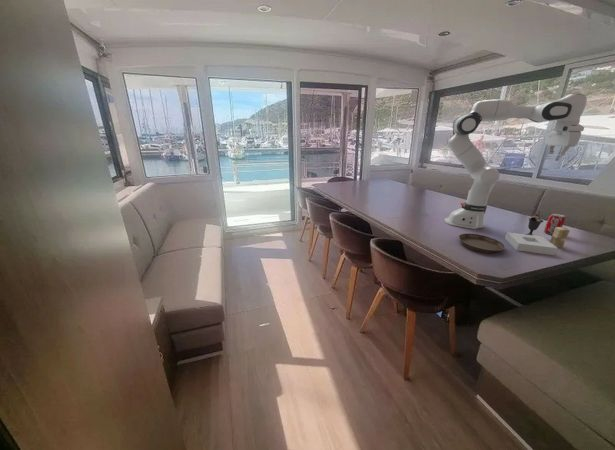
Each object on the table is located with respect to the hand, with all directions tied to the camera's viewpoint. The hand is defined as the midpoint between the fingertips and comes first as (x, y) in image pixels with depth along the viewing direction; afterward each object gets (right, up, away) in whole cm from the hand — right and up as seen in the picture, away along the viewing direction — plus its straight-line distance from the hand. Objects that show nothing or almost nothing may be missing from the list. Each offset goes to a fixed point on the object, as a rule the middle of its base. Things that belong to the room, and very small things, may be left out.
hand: (555, 154), depth 136 cm
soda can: (+11, -45, +14) cm, 48 cm away
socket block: (-19, -51, -4) cm, 54 cm away
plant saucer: (-46, -51, -4) cm, 69 cm away
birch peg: (-2, -51, -2) cm, 51 cm away
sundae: (-5, -46, +10) cm, 47 cm away
